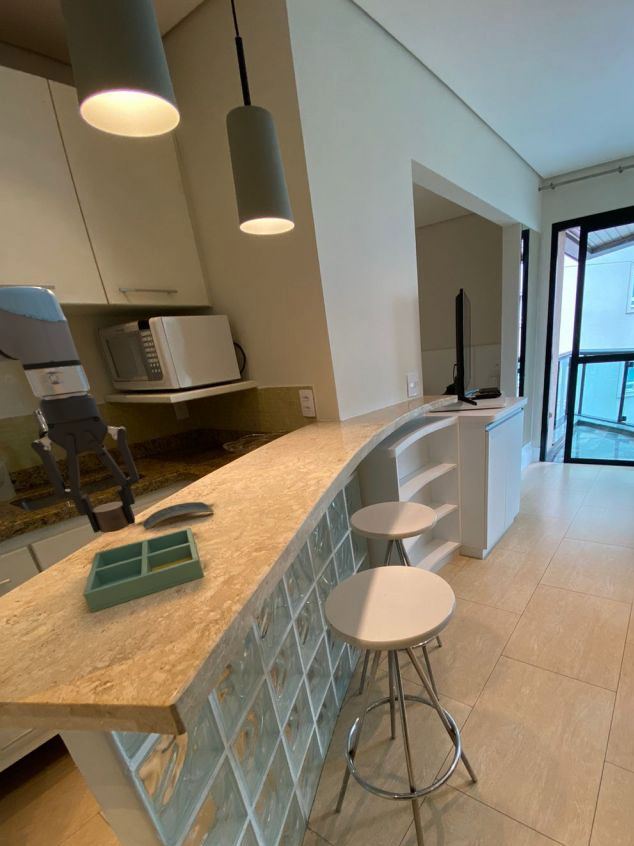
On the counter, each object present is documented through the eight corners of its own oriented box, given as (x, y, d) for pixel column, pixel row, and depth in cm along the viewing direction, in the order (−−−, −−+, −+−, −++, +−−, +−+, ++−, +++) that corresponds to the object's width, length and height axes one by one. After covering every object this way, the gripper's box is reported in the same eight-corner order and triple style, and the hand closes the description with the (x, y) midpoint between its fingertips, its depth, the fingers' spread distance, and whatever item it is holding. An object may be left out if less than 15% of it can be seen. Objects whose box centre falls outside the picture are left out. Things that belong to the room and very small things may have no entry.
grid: (101, 568, 71) (95, 552, 70) (195, 541, 78) (190, 527, 76) (91, 612, 59) (83, 594, 57) (204, 576, 65) (198, 559, 64)
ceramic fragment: (144, 529, 86) (138, 513, 84) (148, 521, 90) (143, 505, 89) (214, 516, 89) (209, 499, 88) (214, 508, 94) (210, 492, 93)
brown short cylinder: (101, 525, 76) (93, 506, 75) (131, 518, 78) (124, 499, 77) (98, 535, 72) (90, 514, 71) (130, 527, 74) (123, 507, 73)
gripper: (-14, 406, 59) (52, 547, 68) (126, 389, 67) (169, 518, 76) (2, 402, 65) (60, 532, 75) (128, 387, 73) (167, 506, 82)
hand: (115, 525), depth 75 cm, fingers closed on brown short cylinder, 5 cm apart
